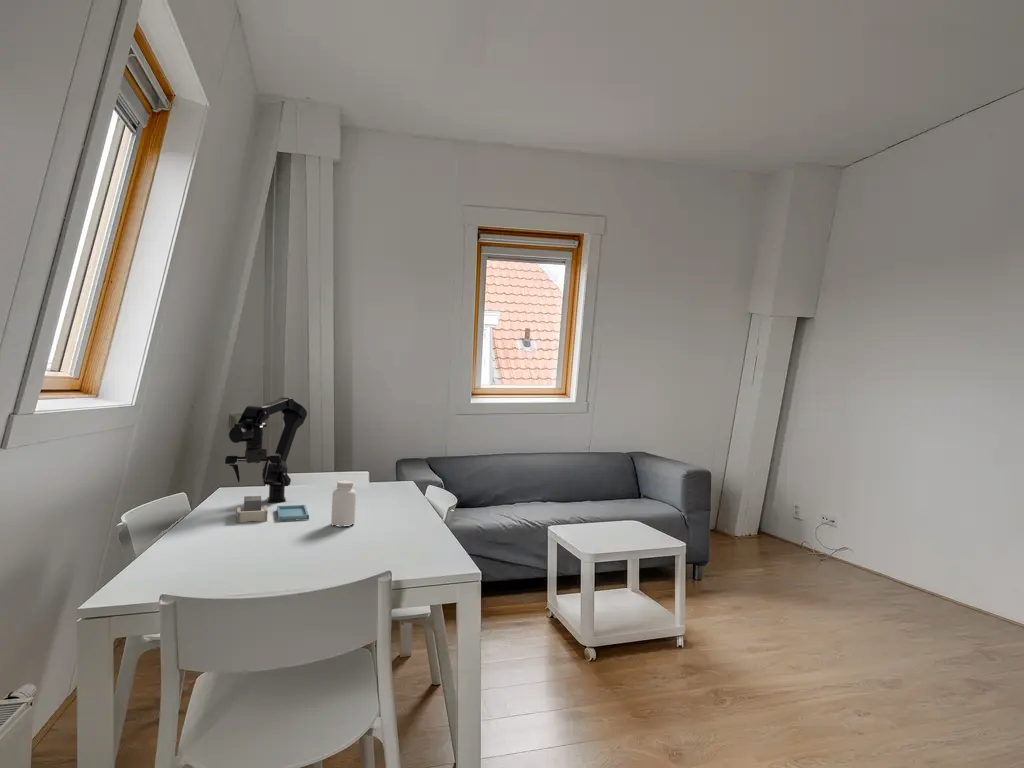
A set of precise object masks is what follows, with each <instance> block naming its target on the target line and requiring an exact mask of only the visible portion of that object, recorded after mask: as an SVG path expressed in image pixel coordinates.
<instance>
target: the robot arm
mask: <svg viewBox="0 0 1024 768" xmlns="http://www.w3.org/2000/svg"><path fill="white" fill-rule="evenodd" d="M279 412H280V413H281V414H282V417H283V418H282V419H283V423H284V425H283V426H284V427H283V429H282V433H281V435H280V437H279V441H278V443H277V446H276V448H275V449H276V450H275V451H274V453H269V455H267V454H268V449H267V448H263V441H264V428H267V427H268V425H267V423H265V421H267V420H268V419H269V418H270V416H271V415H274V414H277V413H279ZM307 416H308V411H307V409H306V408H305V407H304V406H303V405H302V404H300V403H298V402H297V401H295V399H293V398H291V397H286V396H284V397H279V398H278V399H275V400H272V401H269V402H267V403H264V404H253V405H252V404H251V405H248V406H246V407H245V409H244V410H243V412H242V414H241V416H240V418H239V420H238V422H236V423H234V426H233V427H232V428H230V431H229V432H228V437H229V439H230V441H231V442H232V443H235V444H238V443H244V442H245V451H244V455H241V456H240V455H239V456H238V453H227V454H226V455H225V458H224V459H225V461H224V463H225V464H226V465H229V467H232V469H233V470H234V472H235V476H236V479H237V483H240V481H241V480H240V479H241V477H240V476H241V475H240V466H239V462H246V463H247V464H251V463H255V464H259V463H261V462H265V465H264V467H263V469H262V481H263V485H265V486H268V488H269V489H268V496H267V498H266V500H267V503H277V502H283V501H284V502H286V501H287V500H286V497H285V490H286V489H285V488H286V487H289V486H290V485H291V482H292V479H291V477H290V476H289V475H288V466H287V460H288V457H289V454H290V452H291V451H290V450H291V448H292V445H293V442H294V439H295V436H296V433H297V430H298V429H299V428H300V427H301V426H302V425H303V424H304V422H305V420H306V418H307ZM284 502H283V503H284Z"/></svg>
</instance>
